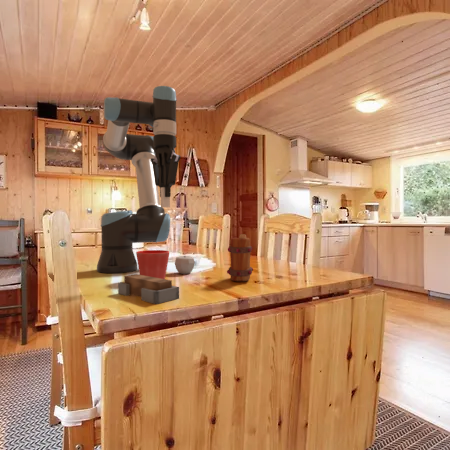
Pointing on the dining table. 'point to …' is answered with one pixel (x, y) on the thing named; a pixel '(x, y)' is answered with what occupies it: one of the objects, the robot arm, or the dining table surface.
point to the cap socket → (159, 295)
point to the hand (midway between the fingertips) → (165, 207)
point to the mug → (240, 259)
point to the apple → (184, 264)
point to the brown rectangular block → (145, 283)
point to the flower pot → (153, 263)
